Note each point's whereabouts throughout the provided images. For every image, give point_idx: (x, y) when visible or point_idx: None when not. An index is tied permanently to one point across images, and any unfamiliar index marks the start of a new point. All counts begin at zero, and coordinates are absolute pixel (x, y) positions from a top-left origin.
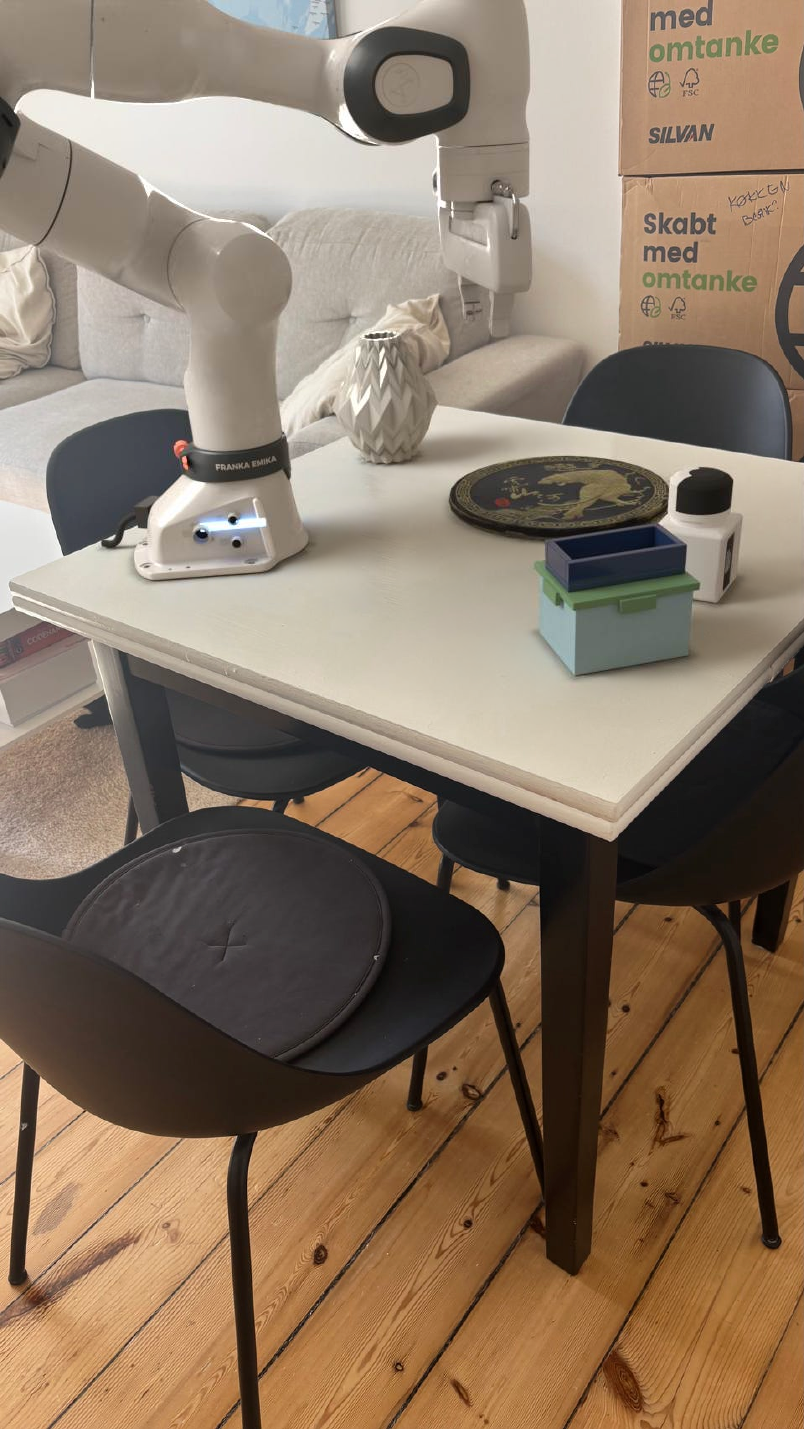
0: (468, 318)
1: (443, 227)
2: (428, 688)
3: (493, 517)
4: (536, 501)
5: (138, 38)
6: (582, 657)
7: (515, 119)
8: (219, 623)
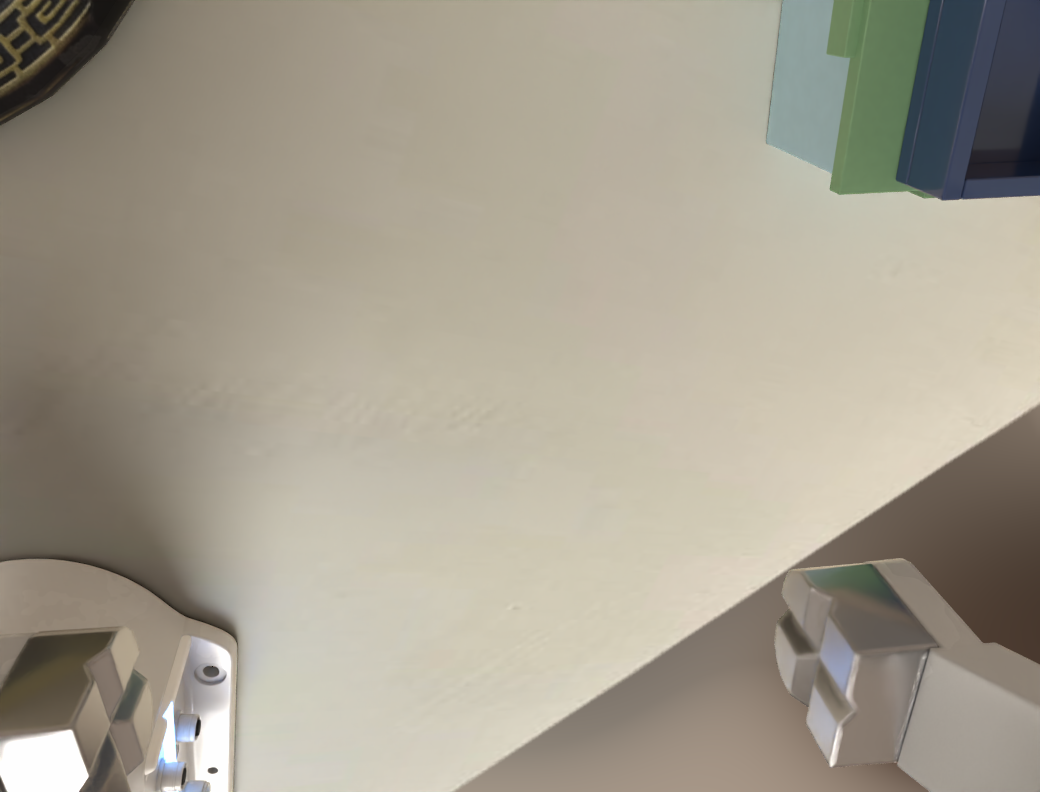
0: (148, 727)
1: None
2: (865, 406)
3: (8, 57)
4: None
5: None
6: None
7: None
8: (465, 698)
